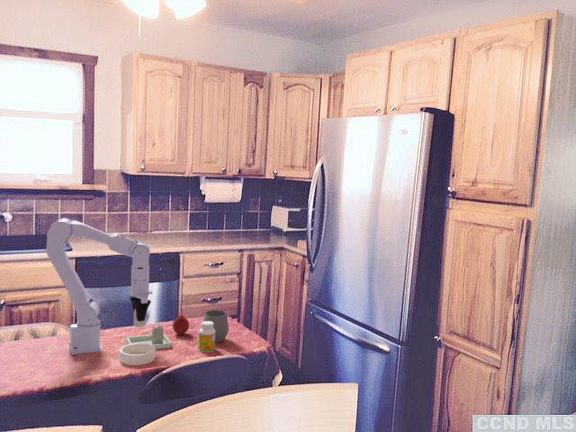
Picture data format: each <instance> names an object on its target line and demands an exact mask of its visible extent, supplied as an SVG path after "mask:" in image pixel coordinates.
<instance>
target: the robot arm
mask: <svg viewBox="0 0 576 432" xmlns="http://www.w3.org/2000/svg"><path fill="white" fill-rule="evenodd" d="M125 235H126V234H125V233H123V232H121V233H115V234H112V235H111V234H109V233H106V232H105V231H102V230H100V229H97V228H95V227H93V226H91V225H88V224H86V223H84V222H80V221H78V220H72V219H70V218H68V217H62V218H59V219H58V220H57V221H55V222H53V223H52V224H51V226H50V228H48V231H47V233H46V236H47V238H46V248H45V253H46V255H47V257H48V259H49V260H50V262H51V264H52V266H53V267H54V269H55V271H56V273H57V275H58V277H59V278H60V280H61V282H62V283H63V285H64V287H65V290H66V291H67V293H68V294H69V296H70V298H71V300H72V303H73V308H74V310H75V312H76V320H77V321H76V323H74V324H69V343H68V344H69V345H68V346H69V349H70V350H69V351H70V354H71V355H72V356H74V355H77V354H86V353H87V354H88V353H95V352H102V351H103V348H102V345H101V320H100V319H99V317H98V316H99V314H100V312H101V305H100V304H99V302H98V301H96V300H95V299H94V298H93V296H92V295H91V294H90V293H89V292H88V291H87V290H86V288H85V286H84V284H83V282H82V280H81V279H80V276H79V275H78V273H77V272H76V270H75V268H74V266H73V264H72V262H71V260H70V258H69V257H68V254H67V253H66V251H65V249H66V246H67V243H68V240H69V239H70V238H71V237H72V239H77V238H82V237H83V238H86V239H90V240H93V241H96V242H100V243H101V244H104V245H107V247H108V248H109V250H110V251H113V252H115V253H117V254H120V255H123V256H126V257H128V258H129V257H131V260H132V263H131V268H130V269H131V273H130V275H131V276H130V277H131V278H130V285H131V286H130V289H131V290H130V296H129V300H130V301H131V305H132V309H133V312H134V310H135V309H136V316H137V320H138V321H144V320H145V316H146V315H147V311H148V309H149V307H150V304H151V303H152V301H151V300H150V299H149V296H150V295H152V294H153V291H152V290H150V259H149V258H150V256H151V254H150V251H151V249H150V247H149V245H148V244H147V243H145V242H144V241H139V240H138V239H132V238H130V237H127V236H125Z"/></svg>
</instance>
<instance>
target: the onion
mask: <svg viewBox="0 0 576 432" xmlns="http://www.w3.org/2000/svg"><path fill="white" fill-rule="evenodd" d="M172 329H173V331H174V333H176V334H177V335H178V336H182V335H184V334H186V332H188V330H189V329H190V322H189V321H188V319H187V318H186V317H185V316H184V314H183V313H180V314H179V316H178V317H176V318H175V319H174V321H173V323H172Z"/></svg>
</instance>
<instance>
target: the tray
mask: <svg viewBox="0 0 576 432" xmlns="http://www.w3.org/2000/svg"><path fill="white" fill-rule="evenodd" d="M125 342H126V345H129V344H135V343H144V344H150V345H152V334H146V335H133V336H126V337H125ZM153 346H154V347H155V348H156V350H162V349H163V350H164V349H170V348H171V349H172V347H173V345H172V341H171V340H170V339H169V338H168V337H167V335H166V334H165V333H164V332H163V344H155V345H153Z"/></svg>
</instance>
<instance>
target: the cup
mask: <svg viewBox="0 0 576 432" xmlns="http://www.w3.org/2000/svg"><path fill="white" fill-rule="evenodd" d="M204 321H211V322H213V323H214V326H213V328H214V329H215V343H221V342H223V341H224V340H225V339H226V337H227V336H228V333H229V330H230V327H229V321H228V313H227V312H226V311H225V310H220V309H217V310H216V309H215V310H214V309H213V310H212V309H211V310H208V311H206V312H205V313H204V317H203V321H202V322H204Z"/></svg>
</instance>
